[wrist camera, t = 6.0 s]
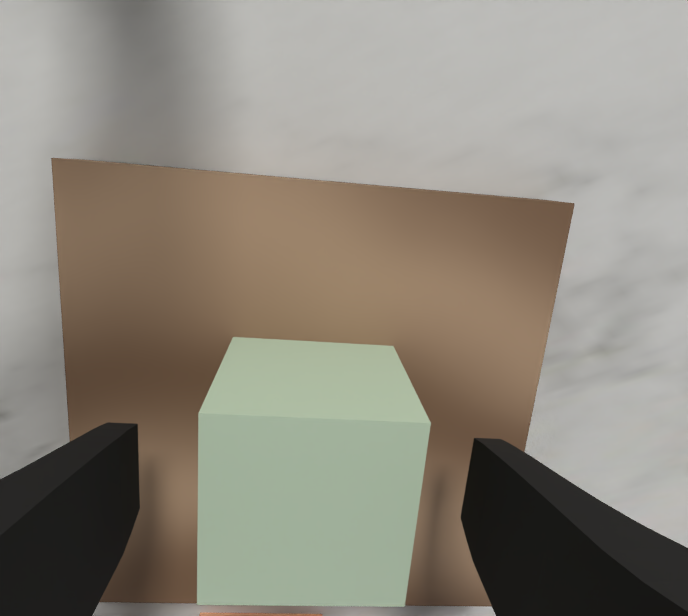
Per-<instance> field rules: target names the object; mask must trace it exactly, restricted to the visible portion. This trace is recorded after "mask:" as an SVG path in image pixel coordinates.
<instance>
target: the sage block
mask: <svg viewBox="0 0 688 616" xmlns="http://www.w3.org/2000/svg"><path fill="white" fill-rule="evenodd" d="M430 426H431V422H430V420H429V418H428V416H427V414H426V412H425V410H424V408H423V406H422V404H421V402H420V400H419V398H418V396H417V394H416V392H415V389H414V387H413V385H412V383H411V381H410V379H409V377H408V375H407V373H406V371H405V369H404V367H403V365H402V363H401V361H400V359H399V357H398V354H397V352H396V350H395V348H394V346H385V345H368V344H350V343H332V342H314V341H297V340H279V339H261V338H244V337H233V338H232V341H231V343H230V345H229V347H228V349H227V352H226V354H225V356H224V358H223V360H222V363H221V365H220V367H219V369H218V371H217V374H216V376H215V378H214V380H213V382H212V385H211V387H210V389H209V391H208V393H207V396H206V398H205V400H204V402H203V404H202V407H201V409H200V411H199V413H198V532H197V605H266V606H375V607H405V601H406V594H407V587H408V580H409V573H410V566H411V559H412V552H413V545H414V538H415V531H416V524H417V517H418V510H419V503H420V496H421V489H422V482H423V475H424V468H425V461H426V454H427V447H428V440H429V433H430Z"/></svg>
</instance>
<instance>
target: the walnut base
mask: <svg viewBox="0 0 688 616" xmlns="http://www.w3.org/2000/svg"><path fill="white" fill-rule="evenodd" d="M51 159H52V175H53V190H54V205H55V221H56V236H57V252H58V267H59V282H60V298H61V313H62V328H63V344H64V359H65V375H66V390H67V405H68V421H69V436H70V442H71V441H72V440H74V439H76V438H78V437H80V436H81V435H83V434H85V433H87V432H89V431H91V430H92V429H94V428H96V427H98V426H100V425H103V424H105V423H107V422H111V423H134V424H138V453H139V493H140V510H139V512H138V515H137V518H136V521H135V524H134V527H133V530H132V532H131V535H130V538H129V540H128V543H127V546H126V548H125V551H124V554H123V556H122V558H121V560H120V562H119V564H118V566H117V568H116V570H115V572H114V574H113V576H112V578H111V580H110V582H109V584H108V586H107V588H106V590H105V591H104V593H103V595H102V597H101V599H100V601H99V602H134V603H197V532H198V413H199V411H200V409H201V407H202V404H203V402H204V400H205V398H206V396H207V393H208V391H209V389H210V387H211V385H212V382H213V380H214V378H215V376H216V374H217V371H218V369H219V367H220V365H221V363H222V360H223V358H224V356H225V354H226V352H227V349H228V347H229V345H230V343H231V341H232V338H233V337H244V338H261V339H279V340H297V341H314V342H332V343H350V344H368V345H385V346H394V348H395V350H396V352H397V354H398V357H399V359H400V361H401V363H402V365H403V367H404V369H405V371H406V373H407V375H408V377H409V379H410V381H411V383H412V385H413V387H414V389H415V392H416V394H417V396H418V398H419V400H420V402H421V404H422V406H423V408H424V410H425V412H426V414H427V416H428V418H429V420H430V422H431V426H430V433H429V440H428V447H427V454H426V461H425V468H424V475H423V482H422V489H421V496H420V503H419V510H418V517H417V524H416V531H415V538H414V545H413V552H412V559H411V566H410V573H409V580H408V587H407V594H406V601H405V605H409V606H492V605H491V603H490V601H489V598H488V596H487V594H486V591H485V589H484V587H483V584H482V582H481V580H480V577H479V575H478V572H477V570H476V568H475V565H474V563H473V560H472V557H471V553H470V550H469V547H468V543H467V540H466V536H465V533H464V529H463V525H462V521H461V518H460V517H461V511H462V505H463V499H464V493H465V487H466V482H467V476H468V470H469V464H470V458H471V452H472V447H473V441H474V438H491V439H502V440H504V441H506V442H508V443H510V444H512V445H513V446H515V447H517V448H518V449H520V450H521V451H523V452H524V451H525V446H526V441H527V436H528V431H529V426H530V421H531V416H532V411H533V406H534V401H535V396H536V391H537V386H538V382H539V377H540V372H541V367H542V362H543V357H544V352H545V347H546V342H547V337H548V332H549V327H550V322H551V317H552V312H553V307H554V303H555V298H556V293H557V288H558V283H559V278H560V273H561V268H562V263H563V258H564V253H565V248H566V243H567V238H568V233H569V228H570V224H571V219H572V214H573V209H574V203H566V202H558V201H549V200H539V199H528V198H517V197H505V196H494V195H482V194H471V193H459V192H448V191H436V190H425V189H413V188H402V187H390V186H379V185H368V184H356V183H345V182H333V181H322V180H310V179H299V178H287V177H276V176H264V175H253V174H242V173H230V172H219V171H207V170H196V169H184V168H173V167H161V166H150V165H138V164H127V163H115V162H104V161H93V160H81V159H61V158H51Z"/></svg>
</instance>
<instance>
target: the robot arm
mask: <svg viewBox="0 0 688 616" xmlns="http://www.w3.org/2000/svg"><path fill="white" fill-rule="evenodd" d="M139 510H140V493H139V453H138V424H134V423H111V422H107V423H105V424H103V425H100V426H98V427H96V428H94V429H92V430H91V431H89V432H87V433H85V434H83V435H81V436H80V437H78V438H76V439H74V440H72V441H71V442H69V443H67V444H65V445H63V446H62V447H60V448H58V449H56V450H55V451H53V452H51V453H49V454H47V455H45V456H44V457H42V458H40V459H38V460H36V461H35V462H33V463H31V464H29V465H27V466H26V467H24V468H22V469H20V470H18V471H16V472H14V473H12V474H10V475H8V476H6V477H4V478H2V479H0V616H92V615H93V613H94V611H95V609H96V607H97V605H98V603H99V601H100V599H101V597H102V595H103V593H104V591H105V590H106V588H107V586H108V584H109V582H110V580H111V578H112V576H113V574H114V572H115V570H116V568H117V566H118V564H119V562H120V560H121V558H122V556H123V554H124V551H125V548H126V546H127V543H128V540H129V538H130V535H131V532H132V530H133V527H134V524H135V521H136V518H137V515H138V512H139ZM460 518H461V521H462V525H463V529H464V533H465V536H466V540H467V543H468V547H469V550H470V553H471V557H472V560H473V563H474V565H475V568H476V570H477V572H478V575H479V577H480V580H481V582H482V584H483V587H484V589H485V591H486V594H487V596H488V598H489V601H490V603H491V605H492V607H493V610H494V612H495V614H496V616H688V548H686V547H684V546H683V545H681V544H679V543H677V542H675V541H673V540H671V539H669V538H667V537H665V536H663V535H661V534H659V533H657V532H655V531H653V530H651V529H649V528H647V527H645V526H643V525H641V524H640V523H638V522H636V521H634V520H632V519H631V518H629V517H627V516H625V515H624V514H622V513H620V512H619V511H617V510H615V509H613V508H612V507H610V506H608V505H607V504H605V503H603V502H601V501H600V500H598V499H596V498H595V497H593V496H592V495H590V494H588V493H587V492H585V491H584V490H582V489H580V488H579V487H577V486H576V485H574V484H572V483H571V482H569V481H568V480H566V479H565V478H563V477H562V476H560V475H559V474H557V473H555V472H554V471H552V470H551V469H549V468H548V467H546V466H545V465H543V464H542V463H540V462H539V461H537V460H536V459H534V458H532V457H531V456H529V455H528V454H526V453H525V452H523V451H521V450H520V449H518V448H517V447H515V446H513V445H512V444H510V443H508V442H506V441H504V440H502V439H491V438H474V441H473V447H472V452H471V458H470V464H469V470H468V476H467V482H466V487H465V493H464V499H463V505H462V511H461V517H460Z"/></svg>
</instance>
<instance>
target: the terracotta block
mask: <svg viewBox="0 0 688 616" xmlns="http://www.w3.org/2000/svg"><path fill="white" fill-rule="evenodd" d="M199 616H322V614H274V613H200V615H199Z"/></svg>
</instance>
